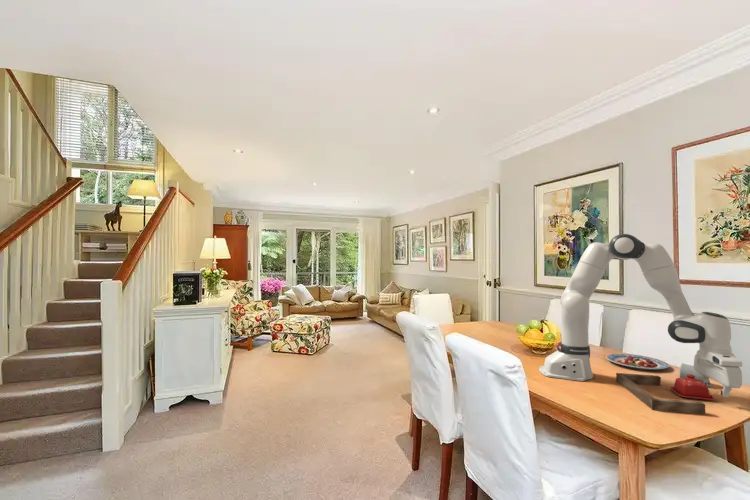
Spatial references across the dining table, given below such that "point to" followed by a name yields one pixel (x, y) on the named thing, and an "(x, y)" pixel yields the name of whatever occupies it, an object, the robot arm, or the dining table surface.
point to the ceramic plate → (637, 361)
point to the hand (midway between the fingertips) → (716, 391)
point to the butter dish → (691, 388)
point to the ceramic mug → (689, 372)
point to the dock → (654, 403)
